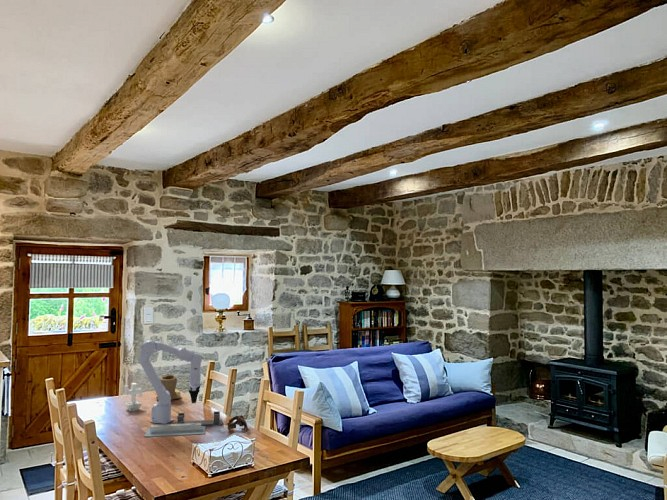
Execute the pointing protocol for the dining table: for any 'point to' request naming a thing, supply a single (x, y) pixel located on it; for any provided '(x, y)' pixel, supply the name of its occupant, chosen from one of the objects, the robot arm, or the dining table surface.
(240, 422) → the brown arched figure
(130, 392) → the figurine
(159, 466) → the dining table surface
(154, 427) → the steel rail
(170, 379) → the stone cup
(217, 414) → the hook standards
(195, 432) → the slate mat
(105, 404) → the dining table surface
